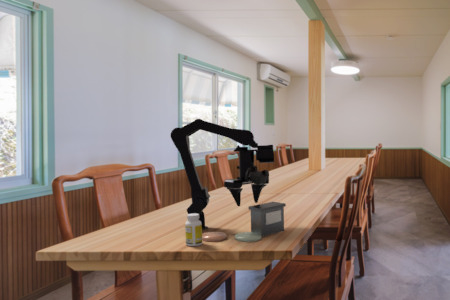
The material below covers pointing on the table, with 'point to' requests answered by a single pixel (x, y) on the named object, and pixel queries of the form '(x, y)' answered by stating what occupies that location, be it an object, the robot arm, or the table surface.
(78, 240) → the table surface
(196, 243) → the supplement bottle
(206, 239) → the peach domed disc
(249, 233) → the sage coaster
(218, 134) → the robot arm
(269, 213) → the box unit
